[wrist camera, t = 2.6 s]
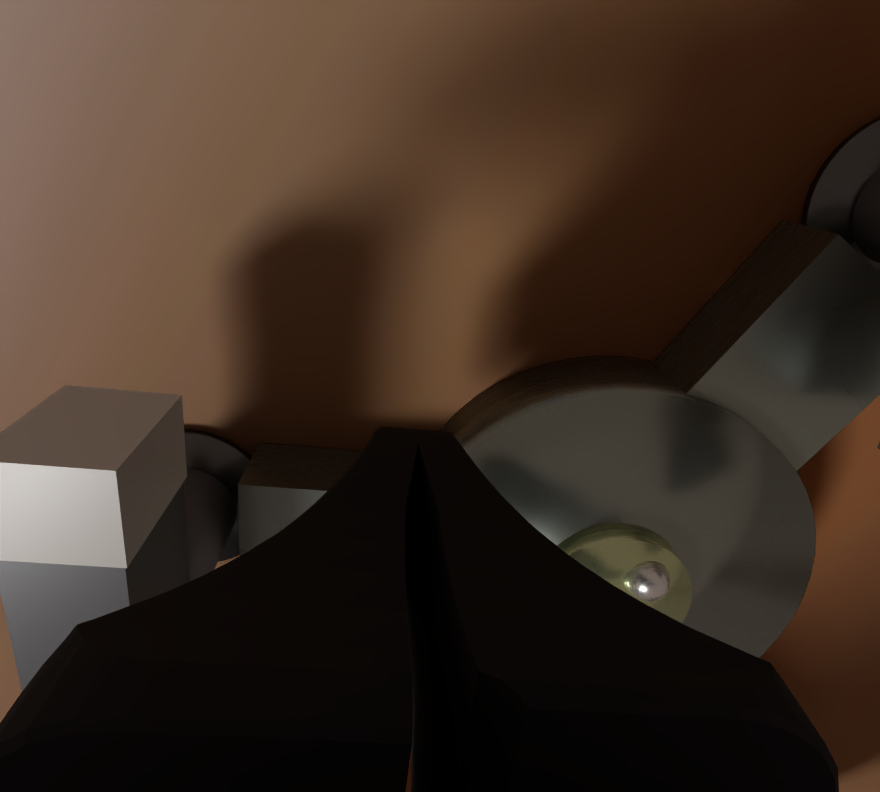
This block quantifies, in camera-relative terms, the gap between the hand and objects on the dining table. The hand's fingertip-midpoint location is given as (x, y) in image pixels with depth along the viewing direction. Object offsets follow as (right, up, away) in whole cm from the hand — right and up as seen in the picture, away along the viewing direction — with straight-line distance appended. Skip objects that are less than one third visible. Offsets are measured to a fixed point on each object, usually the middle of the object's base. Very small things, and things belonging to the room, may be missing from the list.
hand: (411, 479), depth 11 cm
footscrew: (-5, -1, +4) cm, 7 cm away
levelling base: (+2, -2, +4) cm, 5 cm away
